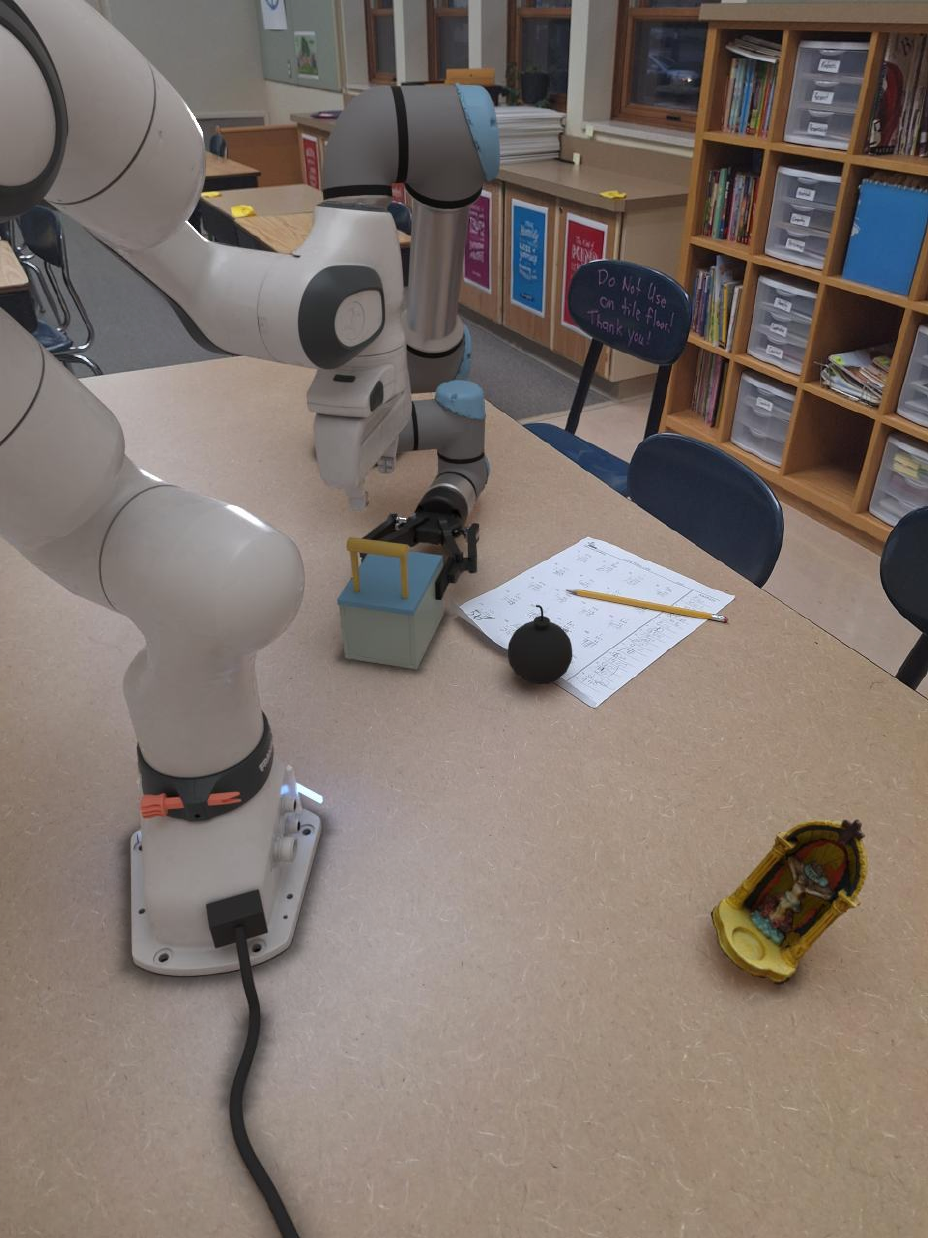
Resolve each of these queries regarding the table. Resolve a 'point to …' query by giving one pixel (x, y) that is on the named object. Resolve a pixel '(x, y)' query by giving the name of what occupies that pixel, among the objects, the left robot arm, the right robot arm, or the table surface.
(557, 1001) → the table surface
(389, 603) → the lid
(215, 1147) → the table surface
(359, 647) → the chest
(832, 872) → the shrine
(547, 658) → the bomb
